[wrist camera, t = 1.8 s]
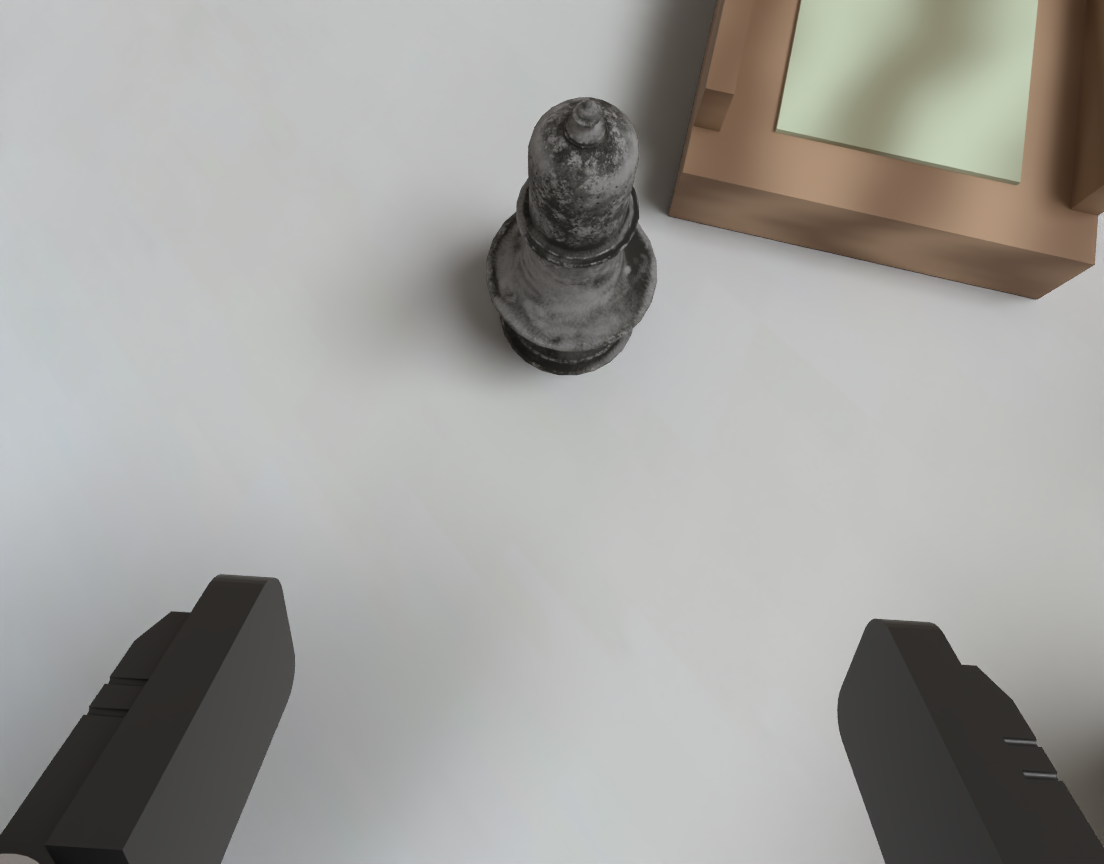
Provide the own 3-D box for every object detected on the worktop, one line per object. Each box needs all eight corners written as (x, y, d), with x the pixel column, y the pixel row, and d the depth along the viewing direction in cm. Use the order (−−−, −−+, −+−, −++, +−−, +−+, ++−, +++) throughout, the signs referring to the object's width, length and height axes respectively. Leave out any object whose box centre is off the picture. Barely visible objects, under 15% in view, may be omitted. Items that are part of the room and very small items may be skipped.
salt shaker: (461, 323, 28) (405, 120, 16) (553, 215, 29) (564, -47, 17) (582, 412, 27) (615, 268, 15) (672, 298, 28) (767, 83, 16)
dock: (668, 215, 29) (694, 137, 24) (729, -57, 32) (763, -174, 27) (1037, 299, 28) (1140, 236, 23) (1062, 14, 32) (1157, -94, 27)
